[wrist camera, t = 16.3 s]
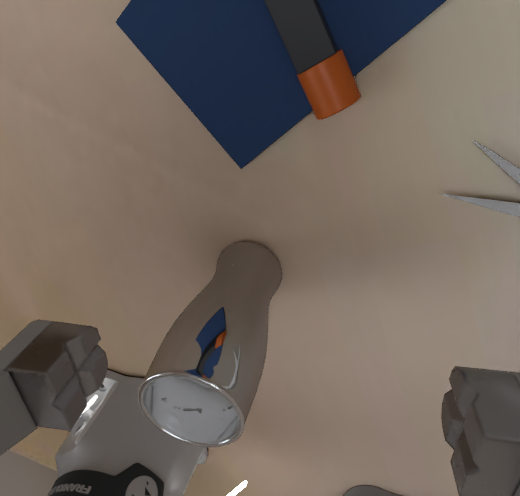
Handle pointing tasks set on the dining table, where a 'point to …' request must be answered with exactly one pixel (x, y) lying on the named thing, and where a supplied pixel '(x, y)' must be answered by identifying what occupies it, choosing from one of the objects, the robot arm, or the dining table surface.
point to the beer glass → (215, 352)
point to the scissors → (501, 206)
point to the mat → (253, 58)
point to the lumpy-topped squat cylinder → (368, 491)
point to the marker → (315, 55)
